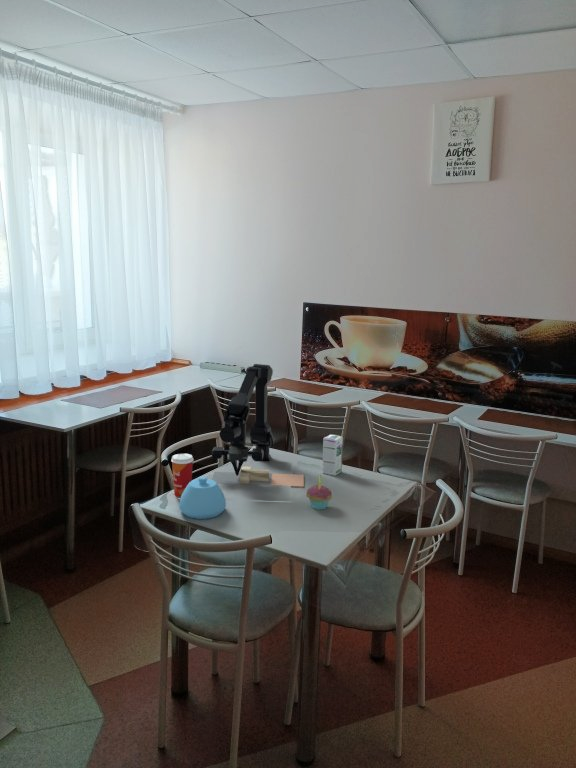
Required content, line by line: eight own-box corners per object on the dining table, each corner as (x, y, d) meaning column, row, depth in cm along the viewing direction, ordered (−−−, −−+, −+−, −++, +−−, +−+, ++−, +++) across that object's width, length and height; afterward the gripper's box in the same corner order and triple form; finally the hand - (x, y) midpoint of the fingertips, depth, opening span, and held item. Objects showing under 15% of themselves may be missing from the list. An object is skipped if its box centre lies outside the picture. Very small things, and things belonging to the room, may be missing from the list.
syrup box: (335, 476, 240) (337, 439, 238) (321, 473, 243) (323, 437, 240) (341, 471, 245) (343, 436, 242) (328, 469, 248) (329, 433, 245)
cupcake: (332, 512, 207) (333, 477, 205) (306, 511, 207) (307, 477, 204) (330, 501, 215) (331, 468, 213) (305, 501, 215) (306, 468, 213)
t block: (242, 473, 239) (242, 466, 238) (269, 474, 238) (269, 467, 238) (239, 483, 229) (239, 475, 228) (267, 484, 229) (268, 476, 228)
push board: (214, 472, 240) (214, 471, 240) (303, 475, 240) (303, 474, 240) (210, 484, 228) (210, 483, 228) (303, 487, 228) (303, 486, 228)
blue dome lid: (185, 523, 195) (184, 488, 193) (175, 505, 209) (174, 472, 207) (231, 517, 201) (231, 483, 199) (218, 500, 215) (218, 467, 212)
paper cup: (170, 491, 220) (169, 453, 217) (192, 490, 223) (191, 452, 220) (173, 500, 213) (172, 460, 210) (195, 498, 215) (195, 459, 212)
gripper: (209, 440, 223) (209, 482, 226) (261, 442, 223) (260, 484, 226) (213, 431, 234) (213, 471, 237) (264, 433, 233) (262, 473, 237)
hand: (237, 475), depth 234 cm, fingers closed
